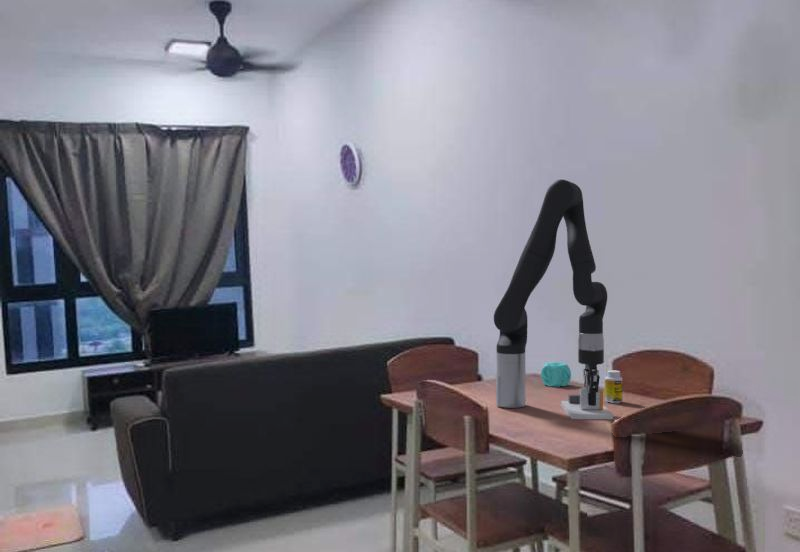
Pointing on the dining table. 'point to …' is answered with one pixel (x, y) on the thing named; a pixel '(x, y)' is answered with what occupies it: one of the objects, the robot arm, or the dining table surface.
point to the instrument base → (576, 413)
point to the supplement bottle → (613, 387)
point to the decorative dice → (556, 374)
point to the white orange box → (584, 400)
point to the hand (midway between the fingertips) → (591, 404)
